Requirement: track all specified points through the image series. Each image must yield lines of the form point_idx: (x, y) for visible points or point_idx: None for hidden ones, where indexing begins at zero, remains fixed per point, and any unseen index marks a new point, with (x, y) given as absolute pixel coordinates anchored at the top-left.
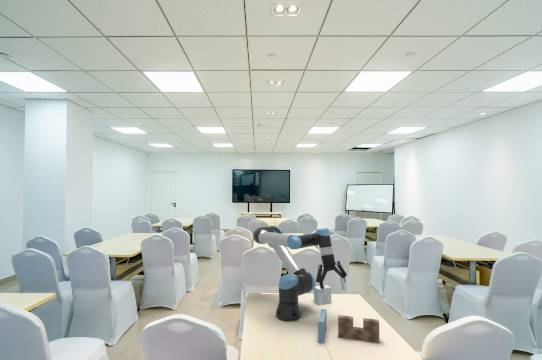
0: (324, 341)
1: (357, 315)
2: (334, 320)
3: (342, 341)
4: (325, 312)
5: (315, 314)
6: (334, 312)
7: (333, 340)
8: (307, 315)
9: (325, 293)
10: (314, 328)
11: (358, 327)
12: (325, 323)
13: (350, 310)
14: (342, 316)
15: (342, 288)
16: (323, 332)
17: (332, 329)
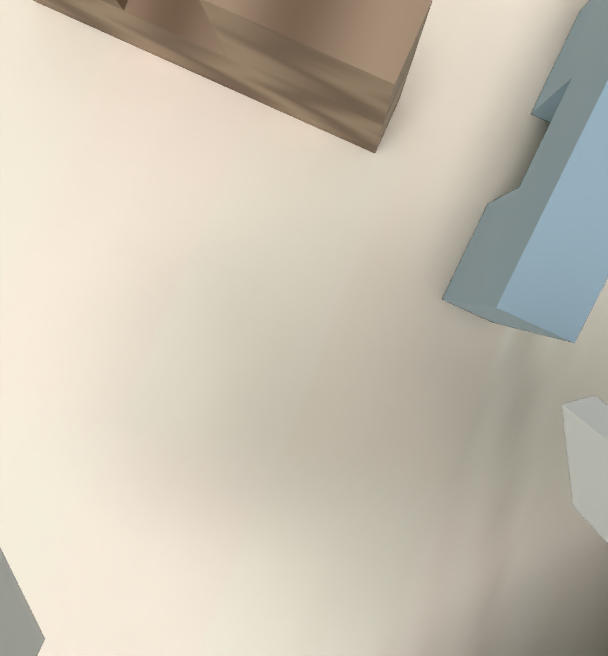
0: (571, 30)
1: (15, 512)
2: (298, 443)
3: None
4: (558, 200)
5: (450, 609)
6: (226, 619)
7: (470, 45)
8: (547, 601)
9: (602, 413)
10: None
11: (174, 26)
12: (556, 122)
13: None
14: (351, 26)
15: (28, 646)
16: None
17: (394, 259)
